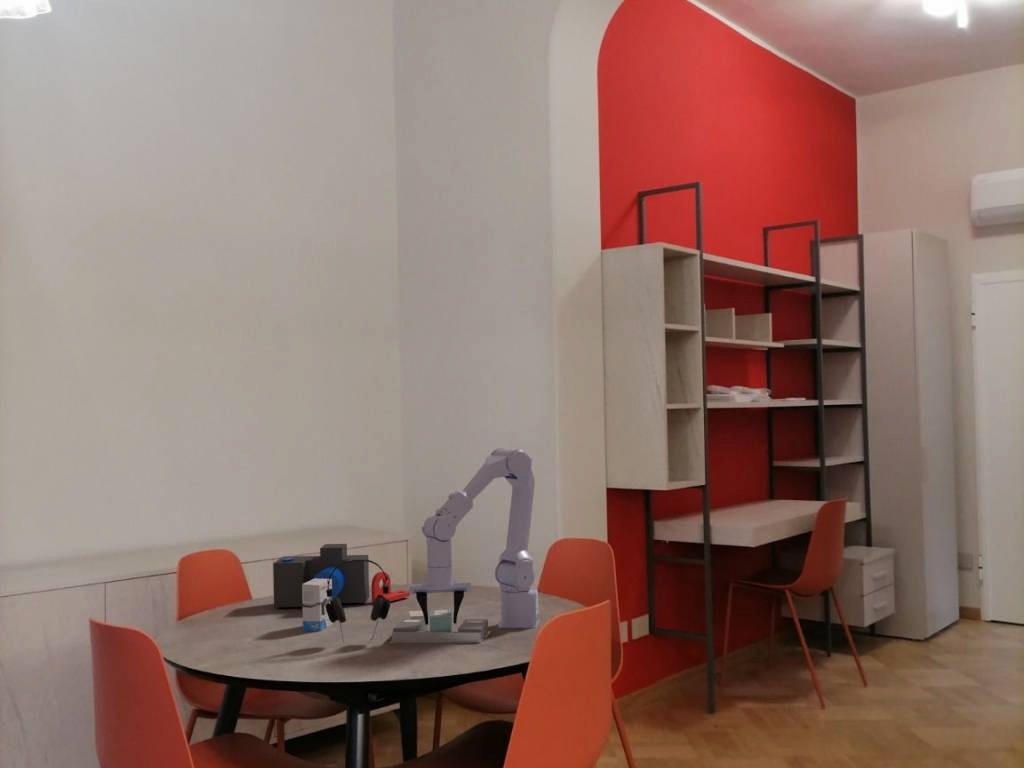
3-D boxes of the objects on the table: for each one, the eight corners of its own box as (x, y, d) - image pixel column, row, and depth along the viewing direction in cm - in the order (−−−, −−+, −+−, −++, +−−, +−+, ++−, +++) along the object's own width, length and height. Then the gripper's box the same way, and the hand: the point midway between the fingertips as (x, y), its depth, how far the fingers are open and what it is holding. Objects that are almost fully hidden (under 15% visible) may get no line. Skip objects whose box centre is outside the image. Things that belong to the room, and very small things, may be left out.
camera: (268, 611, 258) (267, 554, 258) (283, 599, 274) (282, 545, 275) (359, 609, 258) (358, 552, 258) (369, 597, 274) (368, 543, 274)
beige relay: (425, 626, 237) (425, 610, 237) (427, 631, 231) (426, 615, 231) (409, 627, 237) (409, 611, 237) (410, 632, 231) (410, 616, 231)
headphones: (390, 634, 229) (388, 552, 229) (392, 646, 217) (390, 560, 218) (327, 639, 226) (325, 555, 226) (325, 651, 215) (324, 563, 215)
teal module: (452, 632, 227) (451, 609, 227) (451, 640, 219) (450, 616, 219) (431, 632, 227) (430, 609, 227) (430, 641, 219) (429, 617, 219)
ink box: (320, 632, 233) (319, 584, 233) (301, 631, 234) (300, 584, 234) (333, 624, 241) (332, 578, 242) (315, 623, 242) (314, 578, 242)
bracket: (383, 603, 266) (382, 575, 266) (371, 601, 268) (371, 573, 268) (411, 595, 275) (410, 568, 276) (399, 593, 278) (399, 567, 278)
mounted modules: (488, 632, 227) (487, 619, 227) (481, 642, 217) (481, 628, 217) (403, 631, 229) (403, 618, 230) (393, 641, 220) (393, 627, 220)
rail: (481, 642, 217) (481, 631, 217) (480, 643, 216) (480, 632, 216) (393, 641, 220) (393, 630, 220) (392, 642, 219) (391, 631, 219)
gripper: (469, 561, 228) (471, 618, 228) (409, 564, 227) (411, 620, 227) (470, 567, 221) (471, 625, 220) (408, 569, 220) (409, 627, 220)
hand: (440, 623), depth 223 cm, fingers open, 6 cm apart
